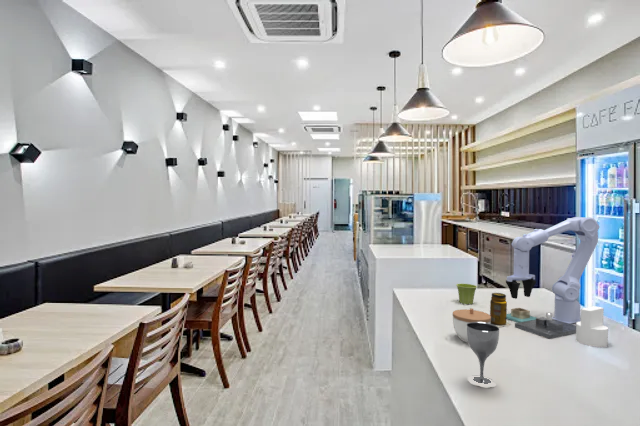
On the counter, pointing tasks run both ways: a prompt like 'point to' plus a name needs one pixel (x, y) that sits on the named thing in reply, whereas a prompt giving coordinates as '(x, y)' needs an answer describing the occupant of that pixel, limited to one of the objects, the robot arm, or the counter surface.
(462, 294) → the plant pot
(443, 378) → the counter surface
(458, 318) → the lidded bowl
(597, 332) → the cylinder with rectangular tab
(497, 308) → the condiment
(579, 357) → the counter surface
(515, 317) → the mat
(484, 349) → the wine glass
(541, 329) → the brushed metal panel
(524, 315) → the collar
